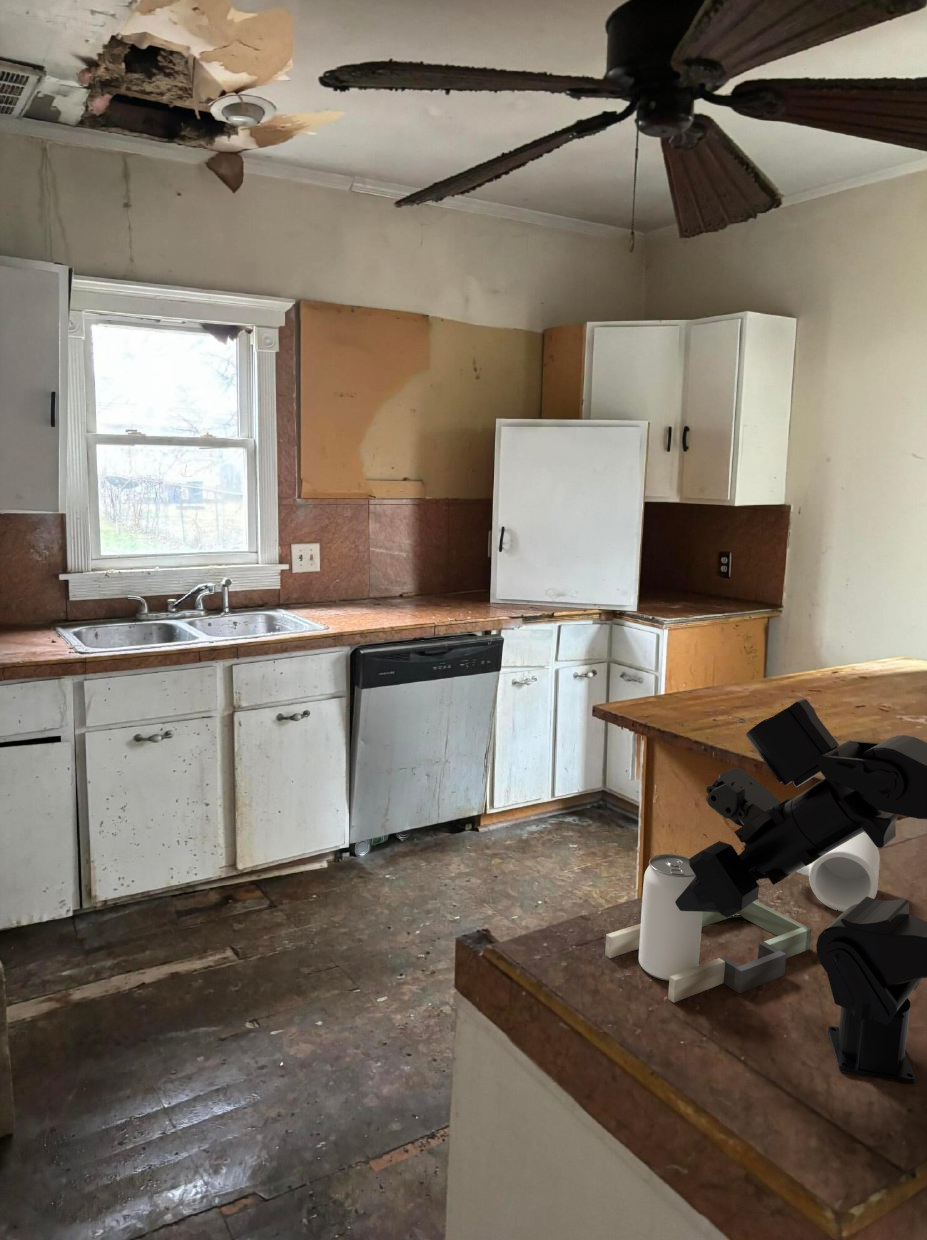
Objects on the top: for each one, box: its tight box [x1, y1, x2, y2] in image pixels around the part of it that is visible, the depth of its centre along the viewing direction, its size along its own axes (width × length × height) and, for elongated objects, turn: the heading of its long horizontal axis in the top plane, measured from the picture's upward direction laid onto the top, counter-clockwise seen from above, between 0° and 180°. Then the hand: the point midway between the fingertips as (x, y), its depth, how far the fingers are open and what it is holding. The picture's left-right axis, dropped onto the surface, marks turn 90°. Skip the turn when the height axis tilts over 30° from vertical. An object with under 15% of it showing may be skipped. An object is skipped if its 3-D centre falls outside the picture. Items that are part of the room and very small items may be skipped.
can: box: [638, 853, 703, 982], centre depth 97 cm, size 6×6×12 cm
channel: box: [604, 900, 813, 1004], centre depth 101 cm, size 22×15×2 cm
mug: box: [795, 831, 881, 913], centre depth 117 cm, size 12×10×8 cm
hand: (700, 892), depth 94 cm, fingers open, 9 cm apart
